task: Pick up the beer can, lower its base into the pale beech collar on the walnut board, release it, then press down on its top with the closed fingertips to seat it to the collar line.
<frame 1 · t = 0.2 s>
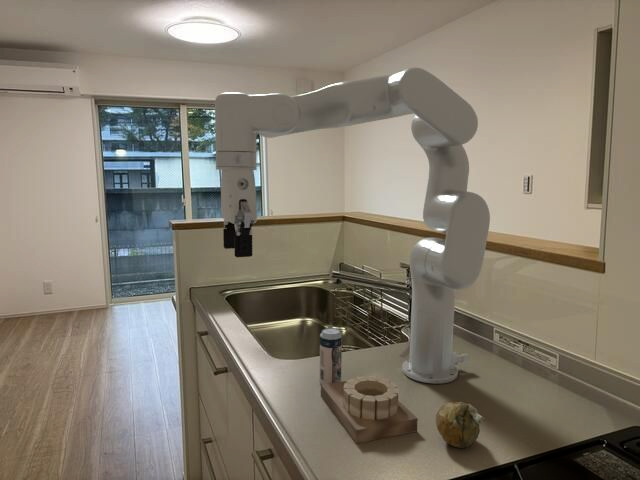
hand: (237, 252, 91), 31 cm above the counter, fingers open, 9 cm apart
board: (365, 412, 92), on the counter
onion: (456, 442, 83), on the counter
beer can: (330, 384, 104), on the counter
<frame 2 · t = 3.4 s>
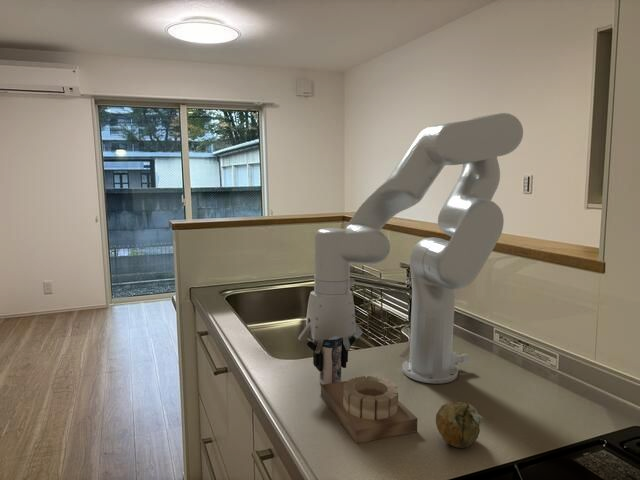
hand: (330, 366, 104), 4 cm above the counter, fingers closed on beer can, 4 cm apart
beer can: (330, 384, 104), on the counter, touching gripper
everything else where it was.
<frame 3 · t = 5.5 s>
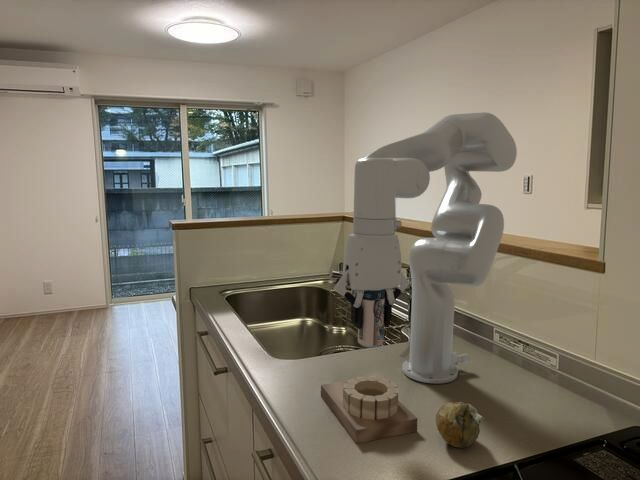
hand: (371, 324, 88), 18 cm above the counter, fingers closed on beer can, 4 cm apart
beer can: (370, 345, 88), point 14 cm above the counter, touching gripper
everything else where it was.
when the fingers open (8 cm above the counter, at t = 7.9 s): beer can drops 1 cm, resting on board.
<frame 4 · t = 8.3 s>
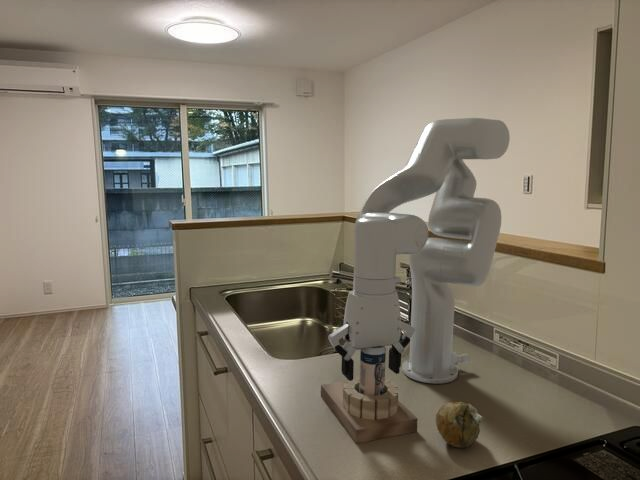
hand: (371, 374, 89), 9 cm above the counter, fingers open, 9 cm apart
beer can: (371, 405, 90), point 2 cm above the counter, touching board
everything else where it was.
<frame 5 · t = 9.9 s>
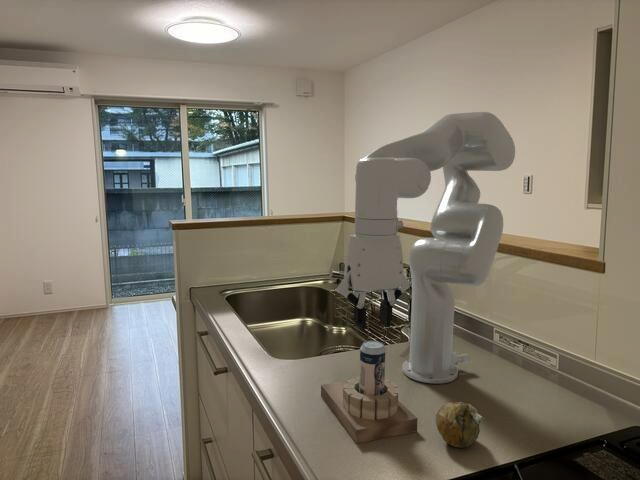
hand: (372, 325, 87), 18 cm above the counter, fingers open, 4 cm apart
nothing on the counter moved.
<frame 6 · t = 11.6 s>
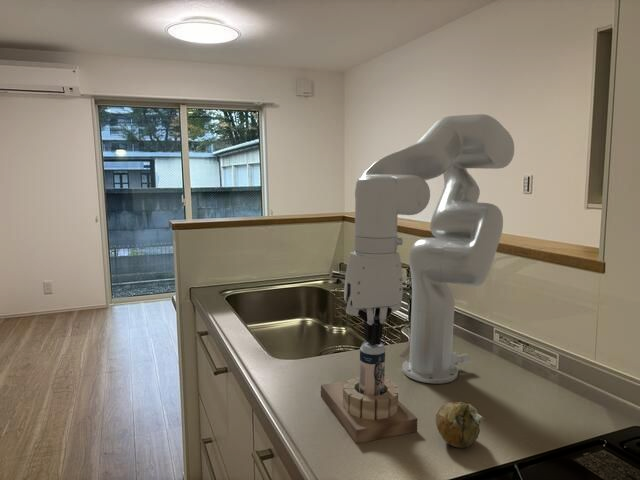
hand: (372, 342, 88), 15 cm above the counter, fingers closed
nothing on the counter moved.
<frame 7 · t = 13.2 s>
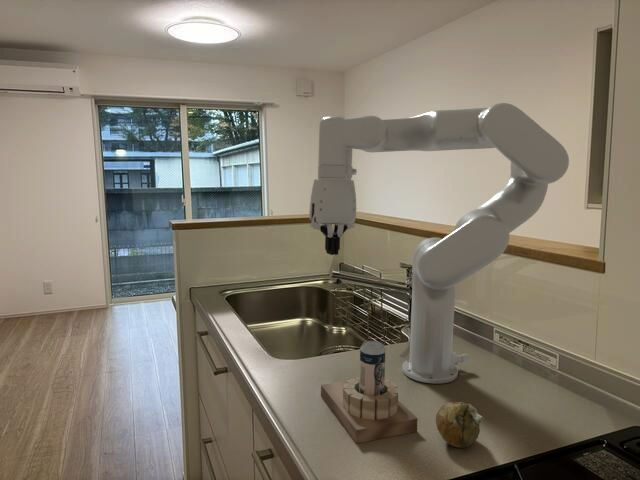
hand: (332, 253, 109), 27 cm above the counter, fingers closed
nothing on the counter moved.
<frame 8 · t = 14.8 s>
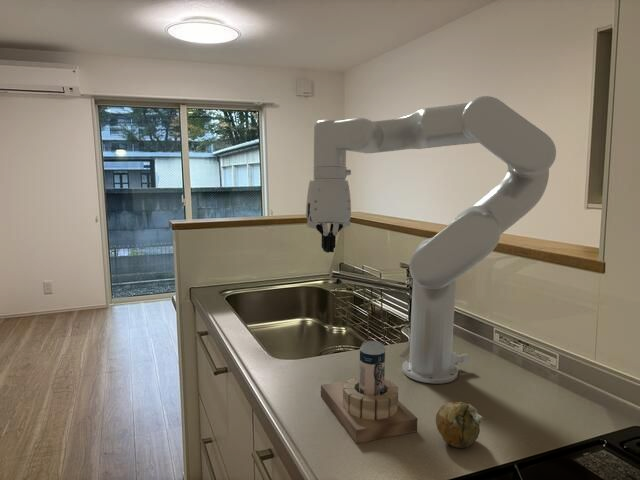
hand: (328, 251, 114), 27 cm above the counter, fingers closed
nothing on the counter moved.
at the end: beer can 0.2 cm from the target spot on the board, point 2.3 cm above the board's base; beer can tilted 0°; the gripper is holding nothing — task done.
